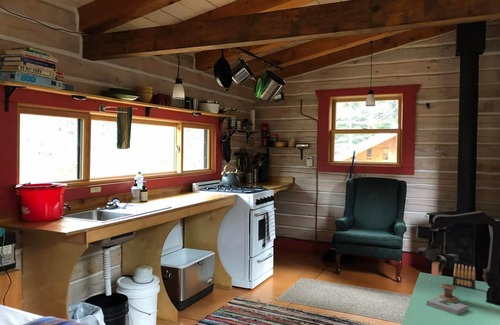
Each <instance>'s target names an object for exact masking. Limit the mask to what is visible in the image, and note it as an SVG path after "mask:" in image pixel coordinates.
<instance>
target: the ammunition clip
mask: <svg viewBox="0 0 500 325" xmlns="http://www.w3.org/2000/svg"><path fill="white" fill-rule="evenodd" d="M454 263H455V262H454ZM453 269H454V270H453V278H452V285H453V286H456V287H459V288H465V289H469V290H476V268H475V266H473V267H472V266H471V265H469V267H468V265H464V264H460V263H459V264H458V265H457V263H455V264H454V268H453Z"/></svg>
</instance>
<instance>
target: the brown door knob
mask: <svg viewBox="0 0 500 325" xmlns="http://www.w3.org/2000/svg"><path fill="white" fill-rule="evenodd" d="M440 287H441V288H442V289H443V290H444V291H443V293H440V294H438V295H437V297H441V298H444V299H446V303H448V302H449V304H458V303H459V297H457V296H455V295H454V294H453V292H454V291H456V290H457V287H458V286H454V285H453V284H449V283H441V284H440Z"/></svg>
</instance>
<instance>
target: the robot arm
mask: <svg viewBox="0 0 500 325" xmlns="http://www.w3.org/2000/svg"><path fill="white" fill-rule="evenodd" d="M475 221H482V222H483V223H485V224H486V225H488V231H489V235H490V236H489V237H490V239H489V240H490V241H489V242H490V243H489V252H488V254H489V255H488V261H487V262H488V263H487V267H486V269H485V268H482V276H481V277H482V278H483V281H484V282H485V283H486V284H487V286H488V287H487V290H486V298H485V299H486V300H485V302H487V303H490V304H492V305H498V306H500V272H499V264H500V219H496V218H492V217H491V216H490V215H487V214H486V213H485V212H484V211H482V210H477V211H472V212H466V213H459V214H458V213H457V214H454V215H453V214H452V215H451V214H435V215H434V216H433V218H432V221H431V222H430V223H429V224H428V225H422V224H417V227H416V228H417V229H416V233H415V236H416V237H415V238H416V239H420V240H430V239H431V238H432V239H431V240H432V241H431V242H430V245H429V246H428V247H423V246H422V247H418V248H417V252H416V253H417V254H419V255H425V257H424V258H427V260H428V261H429V264H430V267H431V268H432V262H436V260H437V257H439V258H440V259H438V262H440V264H439V273H440V272H441V271H442V270H443V269H444V268H445V265H447V263H448V262H450V263H455V262H459V261H460V256H459V255H458V254H456V253H455V254H454V253H448V254H446V250H445V247H446V245H447V242H446V233H448V234H449V233H450V232H451V231H450V230H449V229H448V227H449V226H452V225H454V224H459V223H460V224H461V223H469V222H475Z"/></svg>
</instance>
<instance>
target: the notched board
mask: <svg viewBox="0 0 500 325" xmlns="http://www.w3.org/2000/svg"><path fill="white" fill-rule="evenodd" d="M426 306H429V307H432V308H435V309H438V310H440V311H444V312H447V313H449V314H453V315H456V316H458V315H460V314H462V313H465V312H467V311H468V310H469V308H468V307H469V306H468V305H466V304H463V303H460V302H457V303H454V304H453V305H449V304H447V302H446V299H444V298H441V297H438V296H436V297H433V298H430V299H427V300H426Z"/></svg>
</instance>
